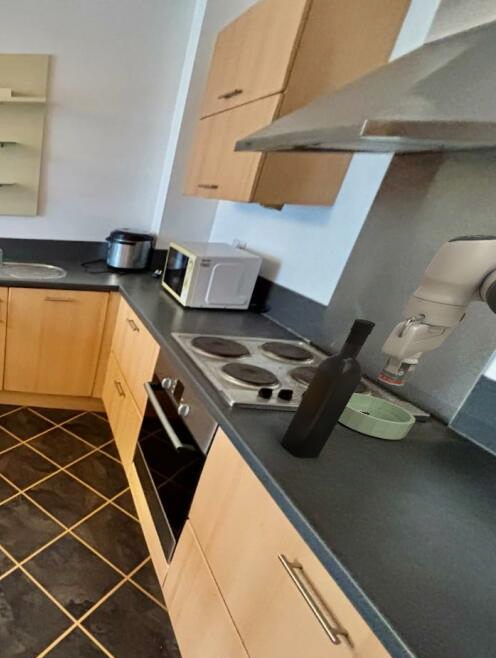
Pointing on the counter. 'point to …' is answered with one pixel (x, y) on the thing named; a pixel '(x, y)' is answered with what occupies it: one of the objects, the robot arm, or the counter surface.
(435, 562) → the counter surface
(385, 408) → the bowl
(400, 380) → the pill bottle
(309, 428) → the wine bottle
